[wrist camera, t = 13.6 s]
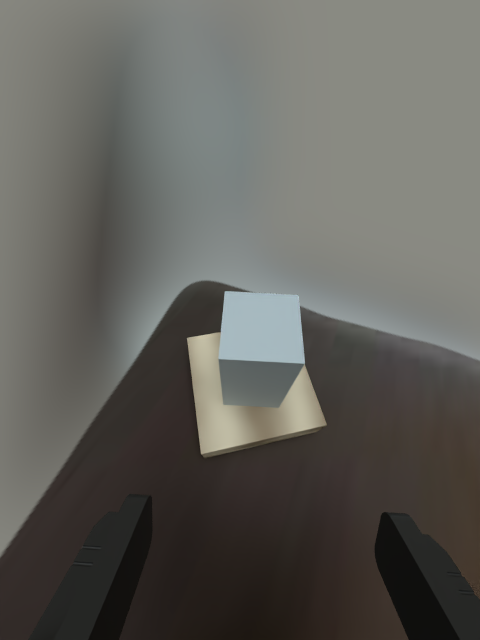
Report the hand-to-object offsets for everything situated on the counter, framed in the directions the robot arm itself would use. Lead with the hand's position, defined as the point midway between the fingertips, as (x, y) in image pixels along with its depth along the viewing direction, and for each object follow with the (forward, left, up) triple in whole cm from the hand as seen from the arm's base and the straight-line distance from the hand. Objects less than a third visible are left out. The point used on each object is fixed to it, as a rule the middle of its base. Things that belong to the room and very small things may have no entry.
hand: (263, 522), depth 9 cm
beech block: (-3, -10, -16) cm, 19 cm away
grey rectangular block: (-3, -9, -13) cm, 16 cm away
